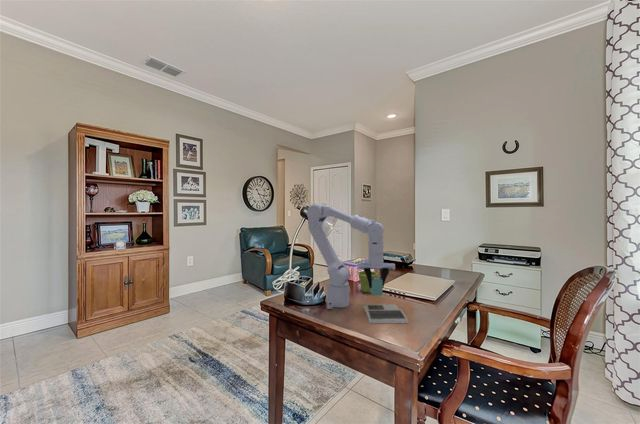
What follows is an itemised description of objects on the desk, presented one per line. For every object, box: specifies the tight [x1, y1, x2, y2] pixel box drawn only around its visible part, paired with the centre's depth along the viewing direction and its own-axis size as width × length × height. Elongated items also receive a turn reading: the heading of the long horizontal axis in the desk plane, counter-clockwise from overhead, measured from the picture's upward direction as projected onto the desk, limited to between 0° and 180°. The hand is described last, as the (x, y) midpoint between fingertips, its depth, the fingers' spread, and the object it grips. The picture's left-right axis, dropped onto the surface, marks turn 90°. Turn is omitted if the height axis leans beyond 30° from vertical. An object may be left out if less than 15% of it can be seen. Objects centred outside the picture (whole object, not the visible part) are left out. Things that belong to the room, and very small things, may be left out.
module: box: [371, 276, 384, 296], centre depth 103 cm, size 4×4×6 cm
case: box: [365, 309, 409, 324], centre depth 95 cm, size 13×8×2 cm, turn 88°
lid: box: [363, 303, 400, 313], centre depth 103 cm, size 13×8×1 cm, turn 88°
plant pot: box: [357, 270, 378, 293], centre depth 126 cm, size 9×9×9 cm
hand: (376, 287), depth 103 cm, fingers closed on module, 4 cm apart
